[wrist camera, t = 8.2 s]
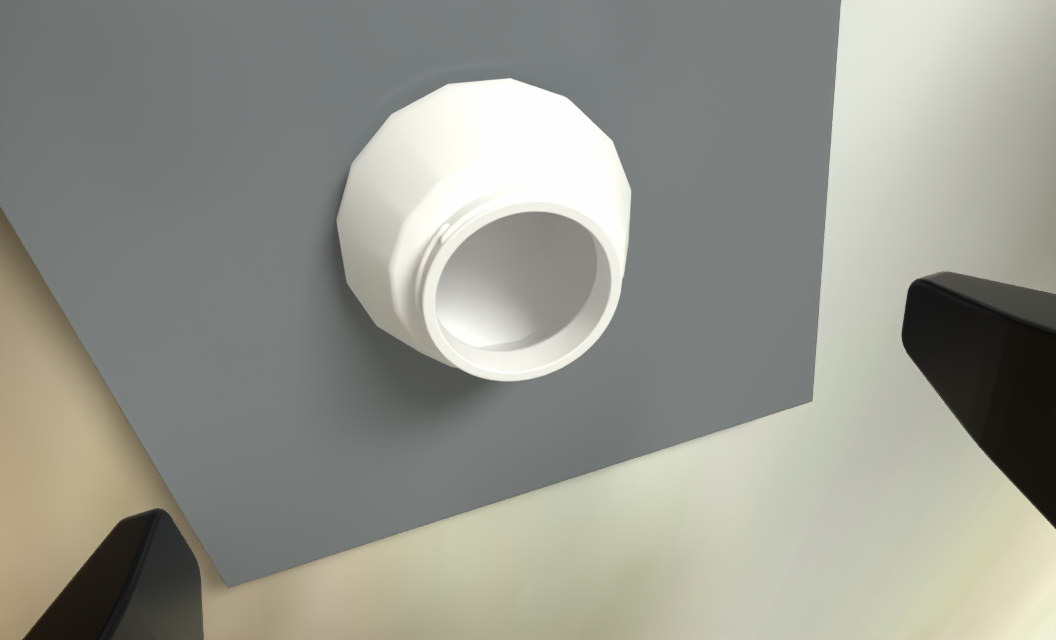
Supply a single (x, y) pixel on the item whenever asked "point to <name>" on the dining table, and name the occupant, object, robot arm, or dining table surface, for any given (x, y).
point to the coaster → (316, 259)
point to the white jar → (488, 228)
